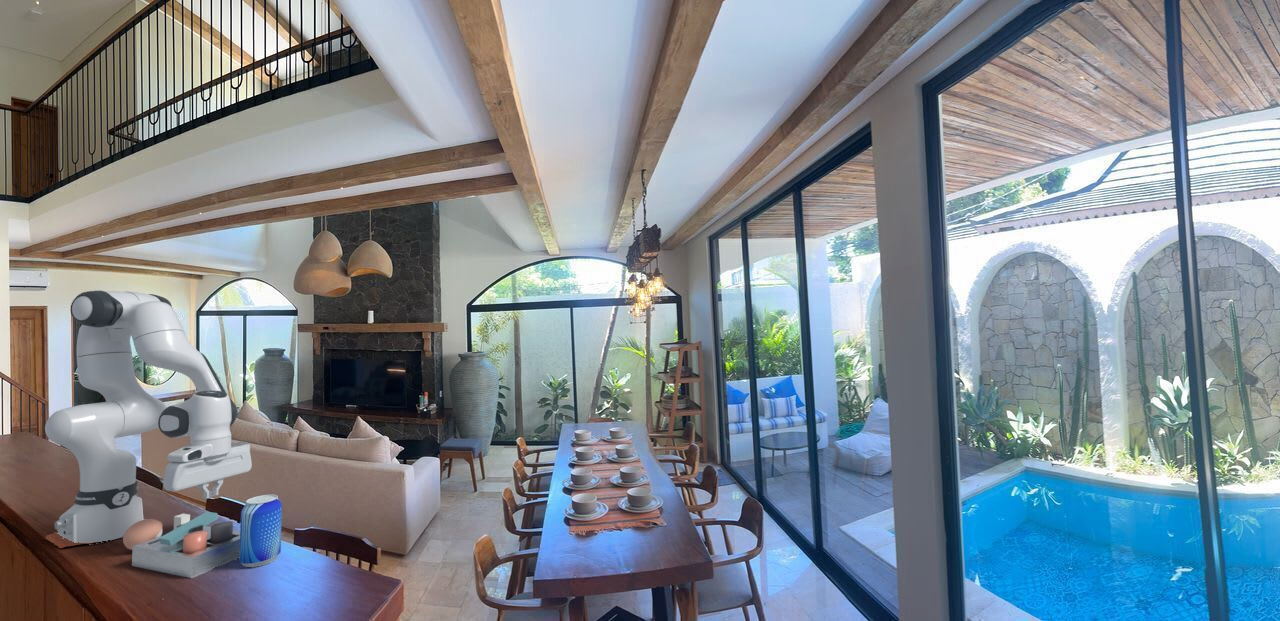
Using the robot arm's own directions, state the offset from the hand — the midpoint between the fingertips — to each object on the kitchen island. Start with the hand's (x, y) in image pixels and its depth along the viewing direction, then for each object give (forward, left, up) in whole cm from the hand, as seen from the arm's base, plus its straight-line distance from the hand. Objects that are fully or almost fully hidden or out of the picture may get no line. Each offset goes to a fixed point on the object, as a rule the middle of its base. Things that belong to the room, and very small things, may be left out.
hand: (210, 497), depth 136 cm
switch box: (+8, -8, -13) cm, 17 cm away
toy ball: (-12, -8, -13) cm, 19 cm away
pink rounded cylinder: (+14, -12, -10) cm, 21 cm away
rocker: (+6, -8, -5) cm, 11 cm away
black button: (+14, -6, -10) cm, 18 cm away
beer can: (+26, -4, -13) cm, 29 cm away
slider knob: (-1, -6, -7) cm, 10 cm away
